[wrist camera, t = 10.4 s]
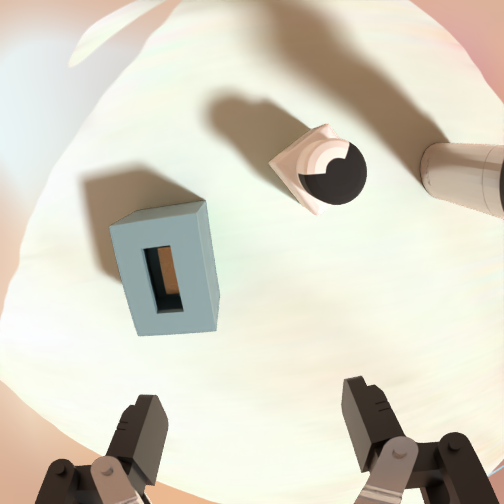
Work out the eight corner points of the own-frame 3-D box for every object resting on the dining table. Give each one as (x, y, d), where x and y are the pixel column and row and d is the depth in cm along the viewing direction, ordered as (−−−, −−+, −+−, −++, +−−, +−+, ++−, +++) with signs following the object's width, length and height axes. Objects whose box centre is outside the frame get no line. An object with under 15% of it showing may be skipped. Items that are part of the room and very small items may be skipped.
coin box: (205, 200, 39) (196, 213, 30) (220, 295, 43) (216, 330, 34) (136, 210, 39) (108, 226, 30) (155, 301, 43) (138, 336, 34)
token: (180, 233, 39) (171, 246, 34) (187, 274, 41) (180, 293, 36) (168, 235, 39) (157, 248, 34) (175, 276, 41) (166, 294, 36)
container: (344, 172, 39) (388, 180, 26) (302, 206, 40) (331, 228, 28) (311, 128, 37) (344, 115, 24) (267, 162, 38) (281, 164, 26)
